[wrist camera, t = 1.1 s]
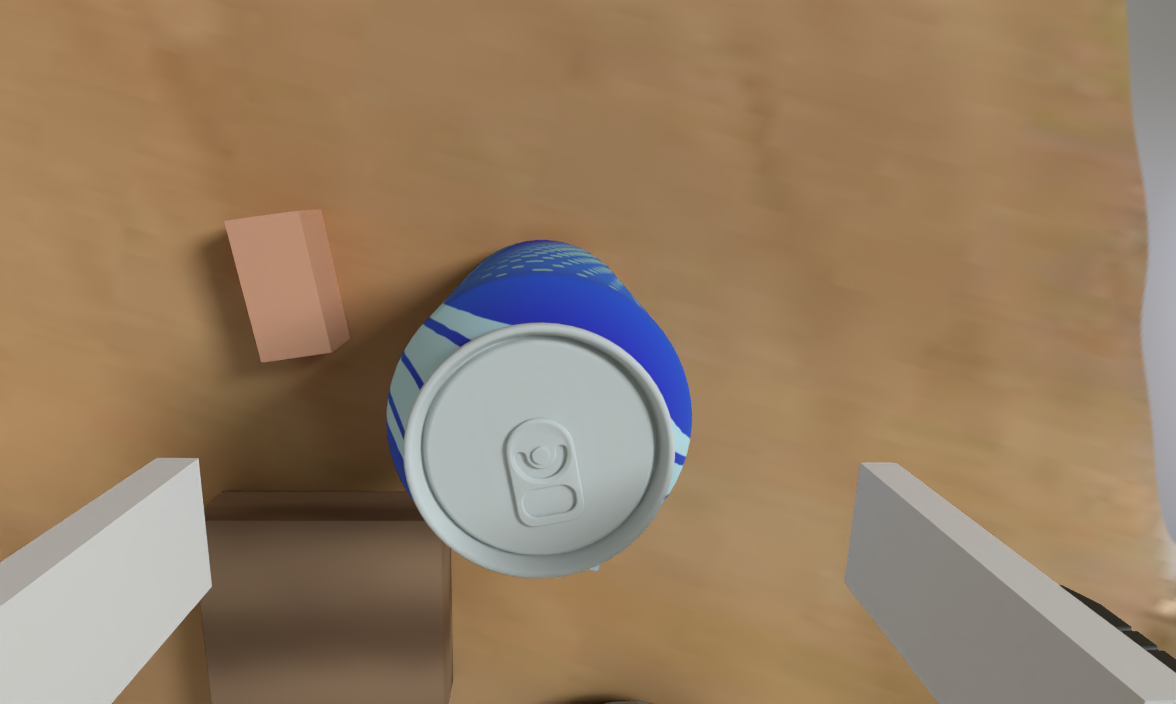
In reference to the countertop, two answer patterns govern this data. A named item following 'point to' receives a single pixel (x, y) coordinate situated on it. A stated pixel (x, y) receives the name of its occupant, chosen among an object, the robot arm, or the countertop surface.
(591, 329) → the beer can
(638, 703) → the coffee pot
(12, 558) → the robot arm
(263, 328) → the terracotta brick
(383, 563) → the walnut slab
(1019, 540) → the countertop surface
